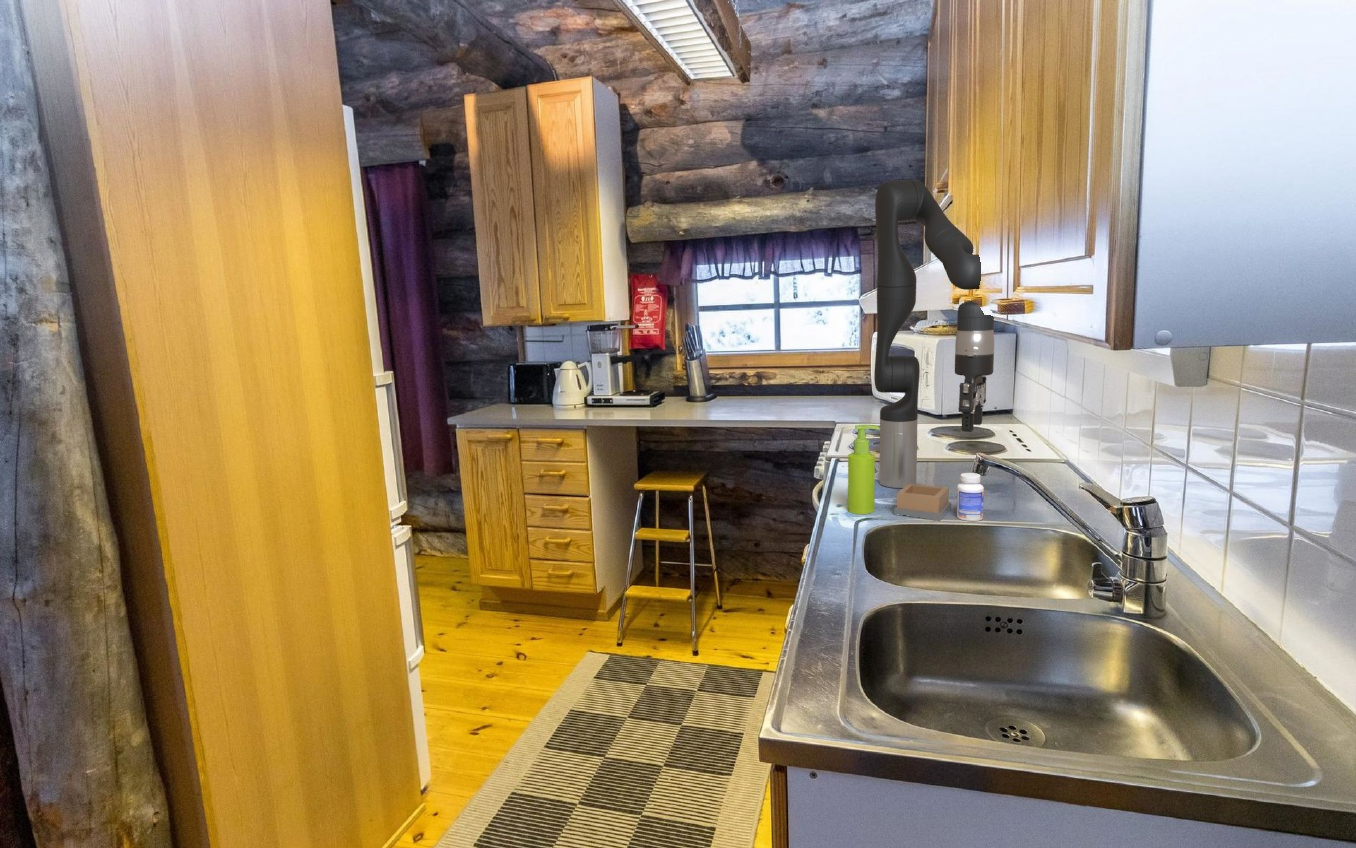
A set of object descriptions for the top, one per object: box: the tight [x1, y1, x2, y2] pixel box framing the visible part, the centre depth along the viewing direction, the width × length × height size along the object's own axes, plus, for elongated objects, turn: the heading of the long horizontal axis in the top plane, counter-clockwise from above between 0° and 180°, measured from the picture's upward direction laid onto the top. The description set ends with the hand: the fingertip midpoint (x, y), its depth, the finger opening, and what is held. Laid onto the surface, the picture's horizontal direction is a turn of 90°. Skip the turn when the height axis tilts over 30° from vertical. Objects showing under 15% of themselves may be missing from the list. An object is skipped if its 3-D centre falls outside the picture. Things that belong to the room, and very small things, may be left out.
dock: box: [893, 483, 952, 521], centre depth 158 cm, size 10×10×5 cm
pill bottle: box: [956, 472, 985, 522], centre depth 152 cm, size 5×5×10 cm
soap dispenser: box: [847, 424, 880, 515], centre depth 159 cm, size 6×7×20 cm
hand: (971, 427), depth 149 cm, fingers open, 8 cm apart
